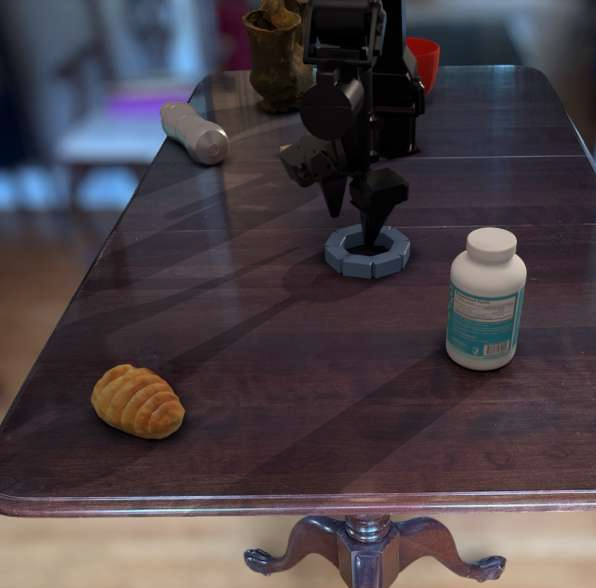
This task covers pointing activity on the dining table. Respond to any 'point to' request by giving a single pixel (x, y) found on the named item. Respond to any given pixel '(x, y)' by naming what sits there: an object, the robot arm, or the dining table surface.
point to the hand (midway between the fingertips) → (351, 231)
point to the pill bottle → (485, 300)
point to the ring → (367, 264)
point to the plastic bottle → (194, 132)
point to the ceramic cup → (425, 60)
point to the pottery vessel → (278, 53)
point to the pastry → (137, 402)
